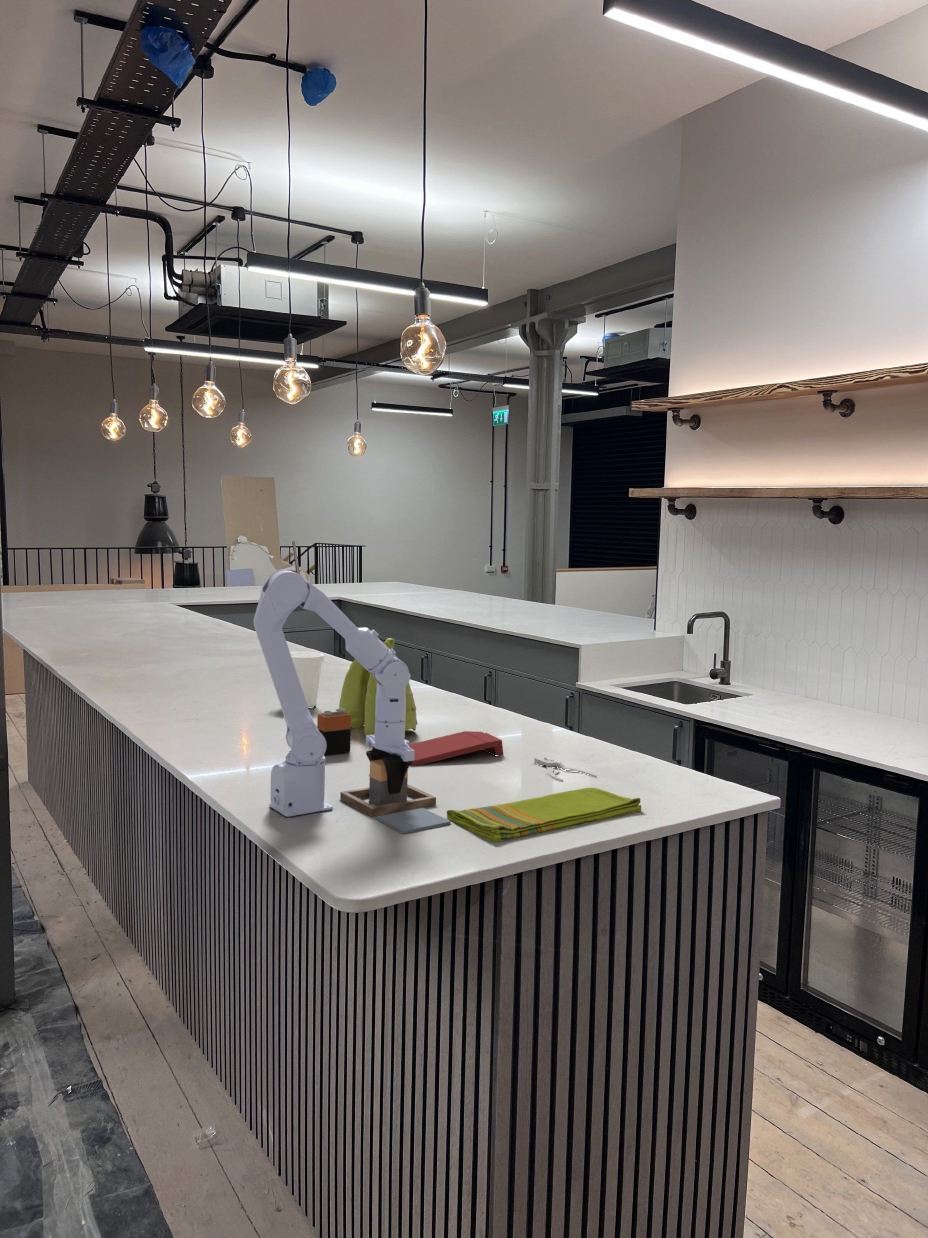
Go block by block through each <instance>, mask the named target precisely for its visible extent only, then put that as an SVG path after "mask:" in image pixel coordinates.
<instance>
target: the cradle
mask: <svg viewBox="0 0 928 1238" xmlns="http://www.w3.org/2000/svg"><path fill="white" fill-rule="evenodd" d="M339 793H340V798H339V800H340V801H342V802H344V803H346V804H348V805H349V806H351V807H353V808H355V809H357V810H359V811H360V812H362V813H364V814H366V815H367V816H370V817H371V818H373V817H376V816H382V815H387V814H393V813H398V812H403V811H409V810H414V809H420V808H428V807H432V806H433V807H434V806H436V805H437V797H436V796H434V795H432V794H430V793H427V792H425V791H423V790H421V789H419V788H417V787H414V786H412V785H410V784H408V783H407V796H410V797H411V798H414V799H409V800H408V799H407V801H402V802H397V803H391V804H386V805H380V806H376V805H373V804H371V803H369V802H366V801H364V800H363V799H362V798H369V787H364V788H363V787H362V788H356V789H351V790H344V791H340V792H339Z"/></svg>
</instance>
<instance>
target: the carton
mask: <svg viewBox="0 0 928 1238" xmlns="http://www.w3.org/2000/svg"><path fill="white" fill-rule="evenodd" d="M408 746H409V747H410V748H411V749H413V750H415V755H414V761H413V762H412V763H411V765H410V766H411V767H415V766H423V765H426V764H430V763H433V762H438V761H442V760H446V759H449V758H454V757H457V756H461V755H466V754H470V753H473V752H478V751H481V750H484V751H485V752H487V753H489V752H490V753H489V754H491V753H492V754H491V755H493V754H494V755H503V756H504V749H503V748H504V747H503V740H502V739H500V738H499V737H496V736H494V735H492V734H490V733H487V732H483V731H472V730H471V731H470V730H469V731H467V730H464V731H460V732H456V733H451V734H448V735H442V736H439V737H435V738H431V739H426V740H423V741H418V742H415V743H411V744H410V743H409V745H408ZM494 755H493V756H494ZM410 766H409V767H410Z"/></svg>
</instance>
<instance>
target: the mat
mask: <svg viewBox="0 0 928 1238" xmlns="http://www.w3.org/2000/svg"><path fill="white" fill-rule="evenodd" d="M375 818H376V820H377V821H379V822H381V823H382V824H384V825H386V826H388V827H390V828H391V829H393V830H395V831H397V832H399V833H401V834H403V835H404V834H408V833H414V832H419V831H423V830H424V831H425V830H429V829H432V828H438V827H444V826H449V825H451V823H452V822H451V821H452V820H450V819H448V818H447V819H446V818H445V817H443V816H440V815H438V814H437V813H434V812H432V811H430V810H428V809H426V808H425V807H423V808H417V809H412V810H407V811H401V812H396V813H390V814H385V815H380V816H375Z"/></svg>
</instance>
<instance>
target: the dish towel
mask: <svg viewBox="0 0 928 1238" xmlns="http://www.w3.org/2000/svg"><path fill="white" fill-rule="evenodd" d="M640 803H641V798H640V797H634V798H631V797H625V796H621V795H617V794H615V793H612V792H610V791H606V790H603V789H600V788H597V787H584V788H580V789H573V790H567V791H561V792H557V793H551V794H546V795H543V796H539V797H534V798H533V797H532V798H527V799H522V800H517V801H514V802H513V801H512V802H507V803H501V804H496V805H495V804H494V805H489V806H488V805H487V806H481V807H476V808H468V809H464V810H462V809H461V810H456V809H448V810H446V818H447V820H449V821H452V822H454V823H456V824H457V825H458V826H461V827H463V828H464V829H466V830H468V831H470V832H472V833H473V834H474V835H475V834H476V835H477V836H480V837H482V838H484V839H486V840H487V841H489V842H492V841H493V842H492V843H495V842H496V843H499V842H500V841H501V842H504V841H511V840H517V839H521V838H525V837H530V836H535V835H541V834H543V833H544V834H545V833H549V832H553V831H554V832H555V831H560V830H562V829H568V828H571V827H572V826H573V827H576V826H577V827H578V826H582V825H585V824H586V825H587V824H590V823H594V822H599V821H605V820H609V819H614V818H618V817H621V816H622V815H623V816H626V814H627V815H630V814H629V813H631V814H634V813H633V812H635V813H638V812H637V811H639V812H641V811H642V805H641V804H640ZM567 827H568V828H567Z"/></svg>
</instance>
